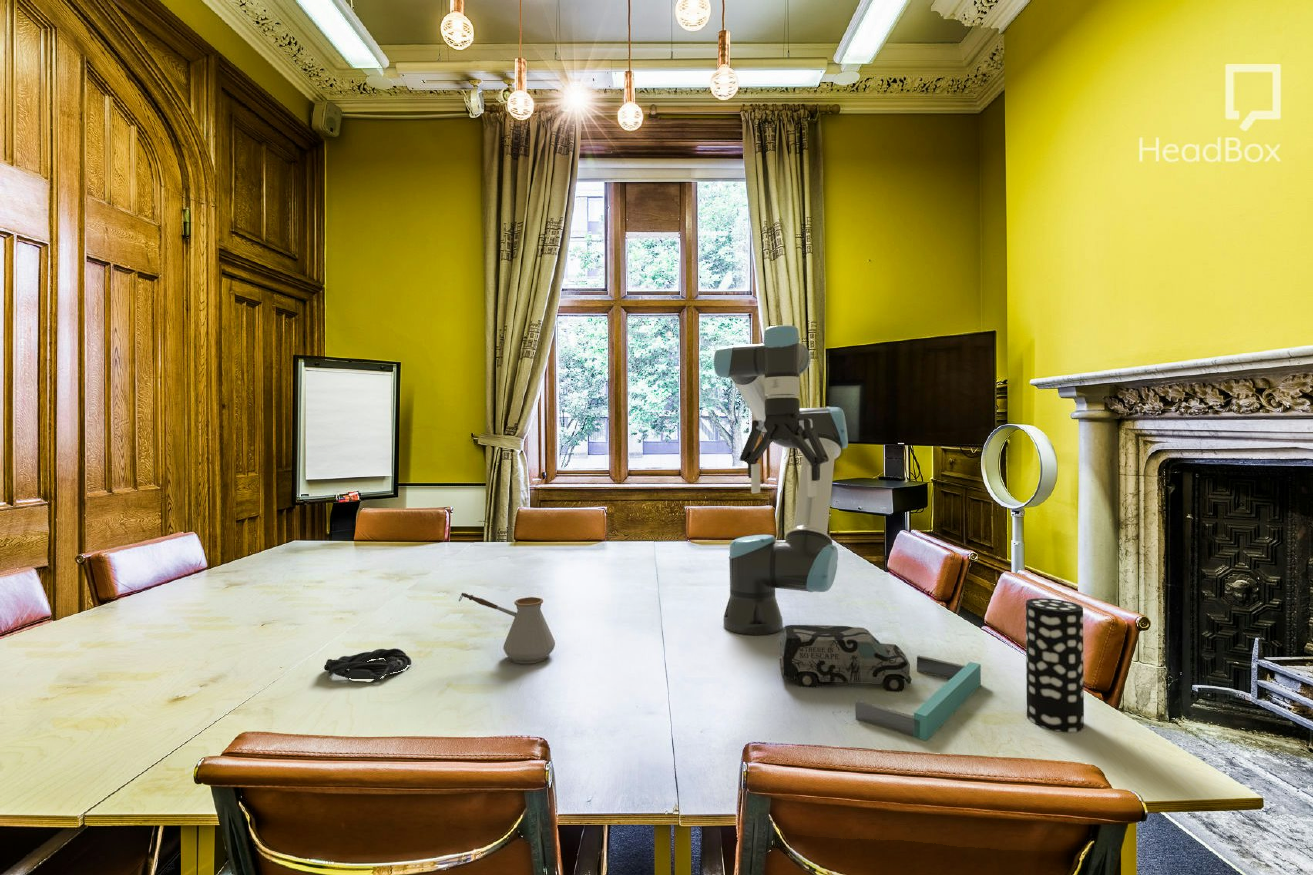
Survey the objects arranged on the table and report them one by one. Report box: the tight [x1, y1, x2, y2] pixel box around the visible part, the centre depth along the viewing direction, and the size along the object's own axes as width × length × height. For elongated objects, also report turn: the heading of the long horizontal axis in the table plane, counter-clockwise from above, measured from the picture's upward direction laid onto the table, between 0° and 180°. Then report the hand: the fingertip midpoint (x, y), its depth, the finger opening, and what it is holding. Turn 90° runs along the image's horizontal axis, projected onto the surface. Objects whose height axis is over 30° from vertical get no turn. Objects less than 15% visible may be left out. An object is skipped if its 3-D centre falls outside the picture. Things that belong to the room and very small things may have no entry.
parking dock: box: [854, 654, 982, 741], centre depth 117 cm, size 12×30×4 cm, turn 138°
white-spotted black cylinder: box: [1025, 597, 1085, 733], centre depth 108 cm, size 8×8×20 cm
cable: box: [323, 648, 412, 680], centre depth 135 cm, size 17×14×4 cm
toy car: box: [779, 624, 913, 693], centre depth 127 cm, size 11×25×10 cm, turn 81°
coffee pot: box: [458, 592, 556, 665], centre depth 142 cm, size 21×12×15 cm, turn 91°
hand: (783, 494), depth 137 cm, fingers open, 13 cm apart
